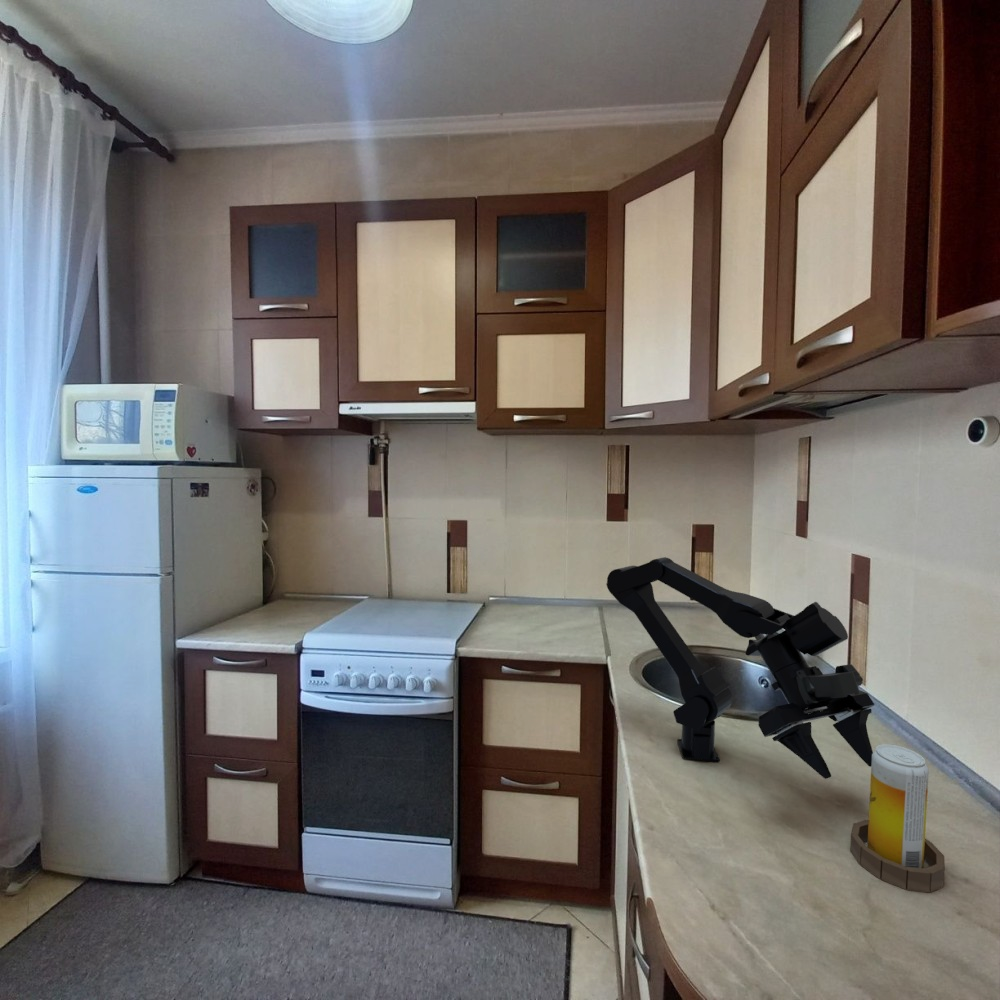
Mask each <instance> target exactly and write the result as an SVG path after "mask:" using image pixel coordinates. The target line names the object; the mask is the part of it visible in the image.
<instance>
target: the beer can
mask: <svg viewBox="0 0 1000 1000" xmlns="http://www.w3.org/2000/svg"><path fill="white" fill-rule="evenodd" d="M929 772H930V771H929V768H928V766H927V763H926V760H925V758H924V756H922V755H921V754H920V753H918V752H916V751H914V750H912V749H909V748H906V747H903V746H901V745H894V744H888V743H887V744H886V743H885V744H884V743H882V744H879V745H877V746H876V747H875V750H874V751H873V754H872V764H871V768H870V789H869V803H868V804H869V806H868V807H869V808H868V820H869V824H868V841H867V845H866V847H868V848H869V849H871V850H872V851H874V852H875V853H877V854H878V855H880V856H881V857H883V858H884V859H887V860H890V861H892V862H895V863H898V864H900V865H903V866H906V867H914V868H924V864H925V863H924V861H925V860H924V846H925V839H926V825H927V810H928V793H929V791H928V789H929V786H928V785H929V775H930V773H929Z"/></svg>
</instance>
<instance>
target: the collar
mask: <svg viewBox="0 0 1000 1000" xmlns="http://www.w3.org/2000/svg"><path fill="white" fill-rule="evenodd" d="M868 824H869V819H863V820H860V821H857V822H854V823H853V824H852V828H851V831H850V848H849V849H850V853H851V855H852V856H853V857H854V859H855V860H856V862H857V863H858V864H859V865H860V867H862V868H864V869H865V870H867V872H869V873H870V874H872V876H873V875H874V876H875V877H876V878H878V879H879V880H881V881H883V882H886V883H888V884H890V885H893V886H896V887H899V888H901V889H903V890H905V891H911V892H912V891H913V892H920V893H921V892H922V893H933V892H935V891H937V890H939V889H942V888H944V887H945V869H946V868H945V867H946V863H945V855H944V854H943V852H941V851H940V849H938V847H936V846H935V844H934V843H933V842H932V841H931V840H928V838H925V846H924V861H925V862H926V864H928V867H926V868H924V867H923V868H914V867H906V866H903V865H900V864H898V863H895V862H892V861H890V860H887V859H884V858H883V857H881V856H880V855H878V854H877V853H875V852H874V851H872V850H871V849H869V848H868V847H867V845H866V843H865V842H868Z"/></svg>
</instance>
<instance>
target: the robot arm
mask: <svg viewBox="0 0 1000 1000" xmlns="http://www.w3.org/2000/svg"><path fill="white" fill-rule="evenodd" d="M657 581H659V582H660V583H662V584H664V585H666V586H668V587H669V588H670V589H674V591H676V592H679V593H681V594H683V595H684V596H685V597H688V598H690V599H691V600H693V601H694V602H697V603H698V604H700V605H702V606H704V607H705V608H708V609H709V610H710V611H712V612H713V613H714V614H715V615H716V616H717V617H718V618H719V619H720V621H721V622H722V623H723V624H724V625H725V626H726V627H728V628H729V629H731V630H732V631H733V632H735V634H737V635H738V636H740V637H743V638H747V639H748V643H747V647H746V650H745V655H746V656H748V657H750V656H752V657H753V656H754V657H756V656H757V657H760V656H761V658H762V661H763V662H764V664H765V665H766V667H767V669H768V671H769V672H770V674H771V676H772V677H773V679H774V682H773V683H772V684H771V687H772V689H773V691H775V692H776V691H780V692H781V693H782V695H783V697H784V699H785V700H786V702H787V703H785V704H781V705H776V706H775V707H773V708H771V709H769V710H768V711H766V712H765V713H763V714H761V715H760V716H758V724H757V725H758V728H759V729H760V731H761V732H762V736H763V737H764V738H766V737H772V736H773V737H772V741H773V742H778V743H780V744H781V745H783V746H784V747H786V748H787V749H788V750H789V751H790V752H792V753H793V754H795V755H796V756H797V757H798V758H800V759H801V760H802V761H803V762H804V763H806V764H807V765H808V766H809V768H810V767H811V768H812V770H814V771H815V772H816V773H817V774H819V776H820V777H822V778H824V779H825V780H827V779H829V778H832V774H831V772H830V769H829V767H828V765H827V762H826V761H825V759H824V756H823V754H822V753H821V752H820V750H819V748H818V746H817V744H816V742H815V740H814V738H813V735H812V721H813V720H817V719H821V718H823V719H824V718H827V717H828V718H829V719H831V720H832V721H833V722H835V723H832V726H833V728H834V729H835V730H836V731H837V732H838V734H839V735H840V736H841V737H842V738H843V739H844V740H845V741H846V743H847V744H848V745H849V746H850V747H851V748H852V750H853V751H854V752H855V753H856V755H857V756H858V757H859V758H860V759H861V760H862V761H863V763H865V764H866V765H867V766H868V767H871V764H872V754H873V752H874V751H873V748H872V745H871V741H870V738H869V733H868V728H867V720H868V718H869V715H870V714H872V712H873V711H872V707H874V706H876V705H875V702H874V701H873V700H872V698H871V696H870V695H869V694H868V693H867V692H865V691H862V690H861V689H859V687H860V686H862V685H863V681H864V679H863V677H862V676H861V674H860V672H859V671H858V670H857V669H856V668H855V667H854V666H853V664H841V665H837V666H835V672H832V673H823V672H822V671H821V668H819V667H817V666H816V665H814V666H810V665H809V664H808V662H807V660H806V658H805V657H804V656H803V655H807V654H808V655H809V656H812V657H816V656H818V655H820V654H822V653H824V652H826V651H828V650H830V649H832V648H833V647H836V646H838V645H839V644H841V643H843V642H844V641H847V640H848V638H849V636H848V634H849V633H848V631H847V629H846V627H845V626H844V625H843V623H842V621H840V619H839V618H838V617H837V616H836V615H834V614H833V613H832V612H831V611H829V610H828V609H826V608H825V607H822V606H821V605H820V604H819V602H817V601H814V602H813V603H811V604H809V605H807V606H806V607H804V609H803V610H802V611H800V612H797V614H795V615H793V614H791V613H788V612H784V611H782V610H780V609H777V608H775V607H773V605H772V604H771V603H770V602H769V601H767V600H765V599H763V598H760V597H757V596H754V595H750V594H747V593H745V592H738V591H732V590H729V589H727V588H725V587H723V586H721V585H718V584H716V583H715V582H713V581H711V580H709V579H707V578H705V577H704V576H702V575H700V574H697V573H695V572H693V571H691V570H689V569H688V568H686V567H684V566H682V565H680V564H678V563H676V562H674V560H672V558H669V557H666V556H665V557H660V558H655V559H654V558H653V559H652V560H650V561H649V562H647V563H644V564H641V565H628V566H625V567H620V568H616V569H612V570H611V571H610V572H609V574H608V576H607V579H606V584H605V585H606V588H607V590H608V592H609V593H610V594H611V595H612V597H613V598H614V599H615V600H616V601H617V602H618V603H619V604H620V605H622V606H623V607H625V608H627V609H628V610H629V611H631V612H633V614H634V615H635V616H636V617H637V619H638V621H639V622H640V623H641V625H642V627H643V628H644V630H645V631H646V632H647V634H648V636H649V637H650V638H651V640H652V641H653V643H654V644H655V646H656V647H657V649H658V650H659V652H660V653H661V655H662V656H663V658H664V659H665V661H666V662H667V663H668V665H669V666H670V667H671V669H672V671H673V672H674V674H675V675H676V677H677V681H678V684H679V690H680V691H679V692H680V695H681V697H682V700H683V701H684V703H683V704H682V705H680V706H679V707H677V708H675V709H674V710H673V716H674V720H675V722H676V724H679V725H681V738H677V739H676V743H677V747H678V749H679V752H680V754H681V757H682V758H683V759H685V760H693V761H694V760H695V761H705V762H706V761H707V762H716V763H718V762H720V760H721V759H720V756H719V754H718V752H717V749H716V748H715V735H716V732H715V730H716V726H715V725H716V722H715V720H716V719H718V718H720V717H721V716H722V714H723V713H725V712H726V711H728V710H729V709H730V708H731V706H732V702H733V694H732V692H731V690H730V688H729V687H731V684H729V683H728V682H727V681H726V679H724V677H723V676H722V674H721V672H720V670H719V669H718V668H717V667H716V666H714V667H711V668H710V669H709V668H707V667H705V666H704V665H703V664H701V663H700V662H699V661H698V659H697V658H696V656H695V655H694V654H693V652H692V651H691V649H690V648H689V647H688V645H687V643H686V642H685V641H684V639H683V638H682V637H681V635H680V634H679V633H678V631H677V630H676V627H674V625H673V624H672V623H671V621H670V620H669V618H668V617H667V615H666V614H665V612H664V611H663V609H662V608H661V606H660V605H659V604H658V603H657V601H656V599H655V593H654V587H653V585H652V583H654V582H657ZM781 630H784V631H782V632H780V633H778V632H779V631H781ZM775 633H777V634H775ZM760 635H765V636H763V637H762V638H760V639H750V638H755V637H758V636H760ZM807 721H808V722H807Z"/></svg>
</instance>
